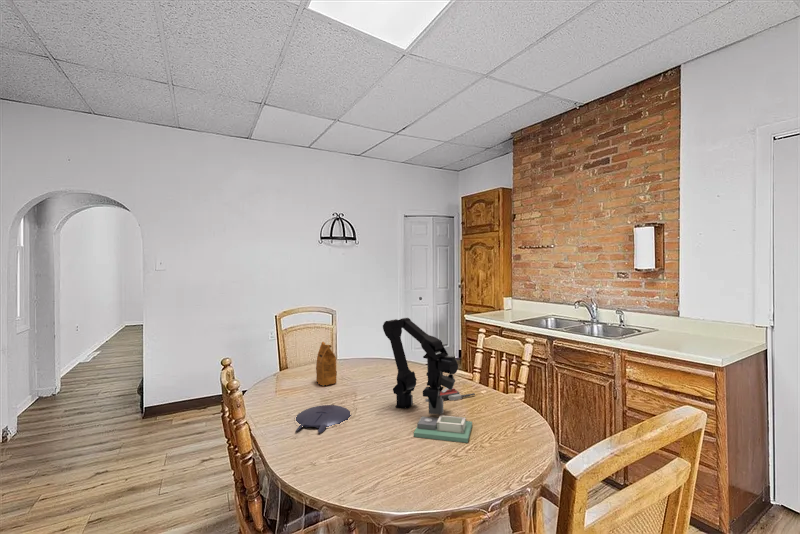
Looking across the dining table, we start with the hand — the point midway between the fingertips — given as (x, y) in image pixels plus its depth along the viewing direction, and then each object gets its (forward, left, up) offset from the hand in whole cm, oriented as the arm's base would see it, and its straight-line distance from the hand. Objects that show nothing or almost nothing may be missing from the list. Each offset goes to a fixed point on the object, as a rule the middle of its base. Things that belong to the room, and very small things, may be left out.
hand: (435, 406), depth 160 cm
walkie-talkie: (+4, +24, -5) cm, 25 cm away
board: (+6, -13, -4) cm, 15 cm away
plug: (0, 0, -3) cm, 3 cm away
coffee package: (-67, +30, -4) cm, 74 cm away
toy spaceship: (-46, -14, -5) cm, 48 cm away
